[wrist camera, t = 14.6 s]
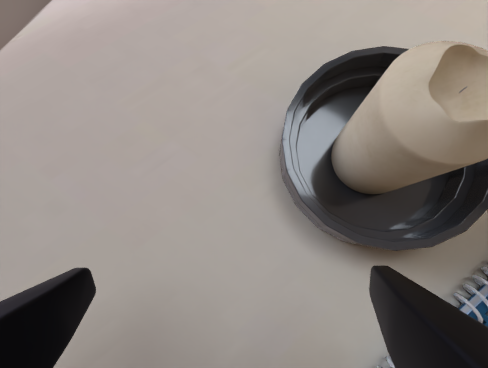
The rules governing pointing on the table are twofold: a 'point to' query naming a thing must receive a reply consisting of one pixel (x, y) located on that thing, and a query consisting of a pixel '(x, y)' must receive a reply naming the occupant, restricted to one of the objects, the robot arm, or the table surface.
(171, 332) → the table surface
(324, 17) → the table surface
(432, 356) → the robot arm
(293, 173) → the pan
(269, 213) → the table surface
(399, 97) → the candle
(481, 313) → the sketchbook
